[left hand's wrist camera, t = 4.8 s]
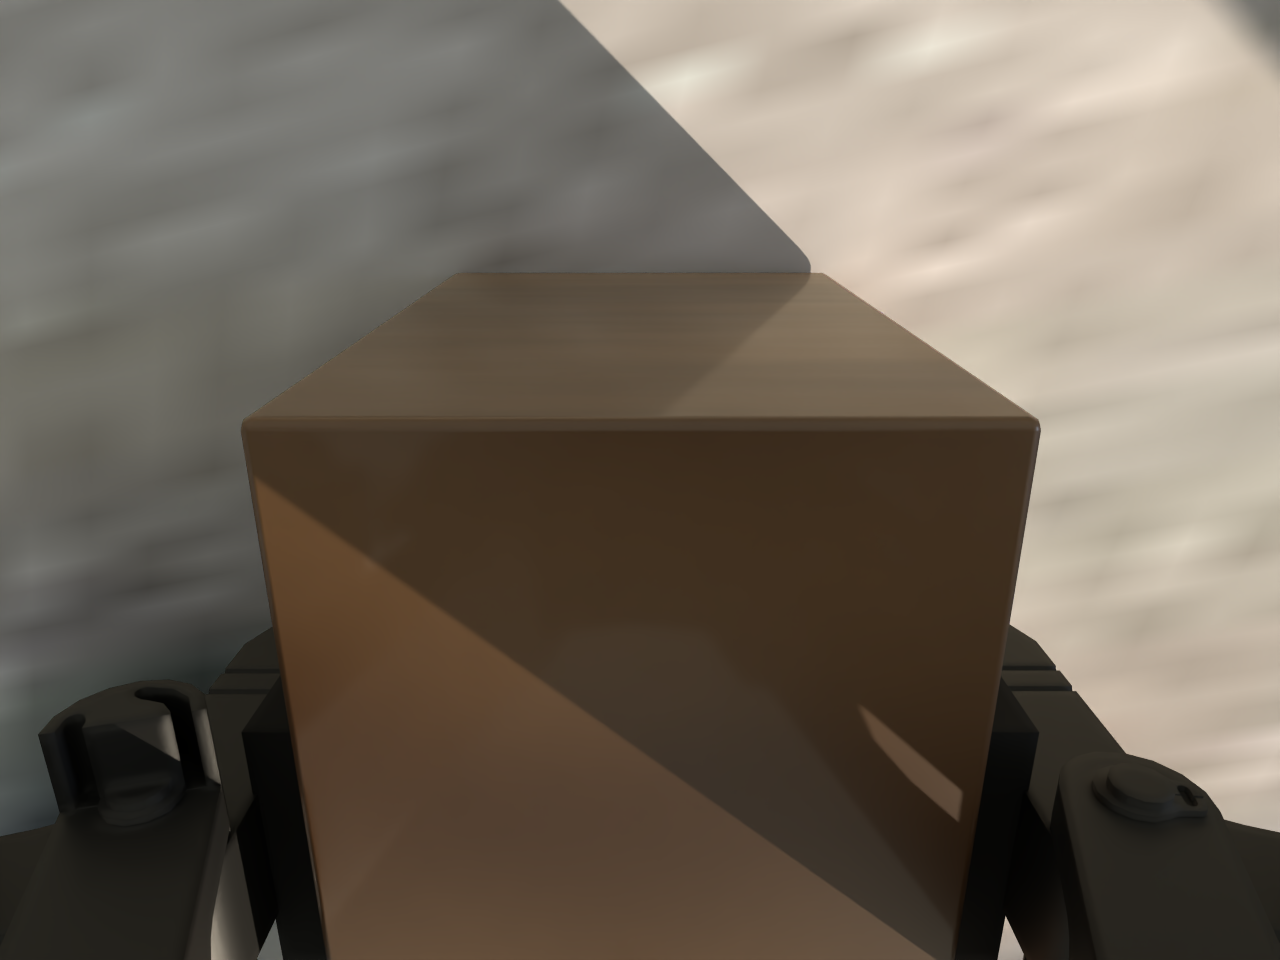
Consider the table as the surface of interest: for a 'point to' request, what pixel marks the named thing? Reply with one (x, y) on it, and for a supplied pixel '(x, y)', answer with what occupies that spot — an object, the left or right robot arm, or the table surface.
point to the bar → (640, 620)
